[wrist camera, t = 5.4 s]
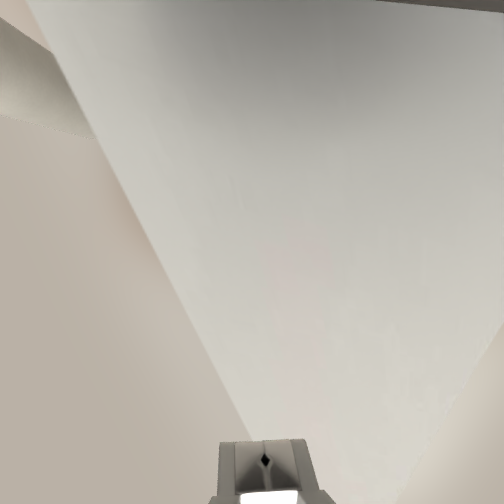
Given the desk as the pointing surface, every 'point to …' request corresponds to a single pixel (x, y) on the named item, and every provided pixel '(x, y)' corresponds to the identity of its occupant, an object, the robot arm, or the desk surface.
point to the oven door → (460, 4)
